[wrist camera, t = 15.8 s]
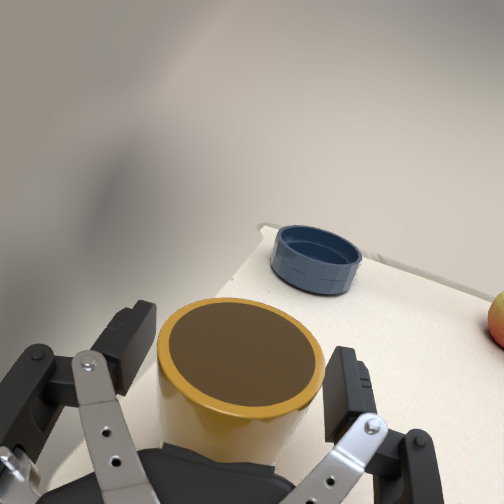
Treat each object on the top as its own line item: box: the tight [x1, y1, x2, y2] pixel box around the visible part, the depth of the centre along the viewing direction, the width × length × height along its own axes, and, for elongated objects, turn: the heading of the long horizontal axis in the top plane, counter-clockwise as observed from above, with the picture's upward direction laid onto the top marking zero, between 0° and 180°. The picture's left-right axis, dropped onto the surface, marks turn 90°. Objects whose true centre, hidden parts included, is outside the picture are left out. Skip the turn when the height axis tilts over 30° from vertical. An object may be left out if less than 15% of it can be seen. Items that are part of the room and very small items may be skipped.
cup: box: [157, 298, 325, 466], centre depth 13 cm, size 6×6×11 cm
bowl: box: [270, 225, 362, 294], centre depth 41 cm, size 11×11×4 cm
